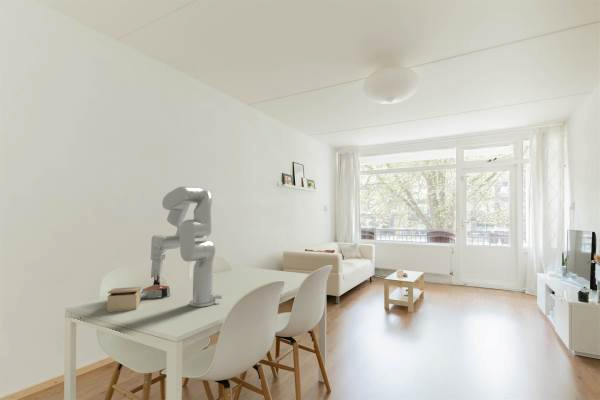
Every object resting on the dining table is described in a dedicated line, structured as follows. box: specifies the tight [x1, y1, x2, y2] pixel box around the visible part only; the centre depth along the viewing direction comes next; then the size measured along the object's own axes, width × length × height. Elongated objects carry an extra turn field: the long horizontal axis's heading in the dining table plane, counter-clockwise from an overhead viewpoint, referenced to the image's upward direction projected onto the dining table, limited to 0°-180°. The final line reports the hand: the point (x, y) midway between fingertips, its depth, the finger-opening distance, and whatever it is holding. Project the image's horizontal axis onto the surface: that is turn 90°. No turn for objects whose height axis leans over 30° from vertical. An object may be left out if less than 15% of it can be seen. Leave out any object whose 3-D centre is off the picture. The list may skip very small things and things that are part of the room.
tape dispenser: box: [140, 284, 171, 300], centre depth 172 cm, size 18×5×20 cm
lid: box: [107, 286, 141, 294], centre depth 155 cm, size 12×12×1 cm
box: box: [106, 289, 141, 313], centre depth 155 cm, size 12×12×7 cm
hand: (156, 288), depth 183 cm, fingers closed
